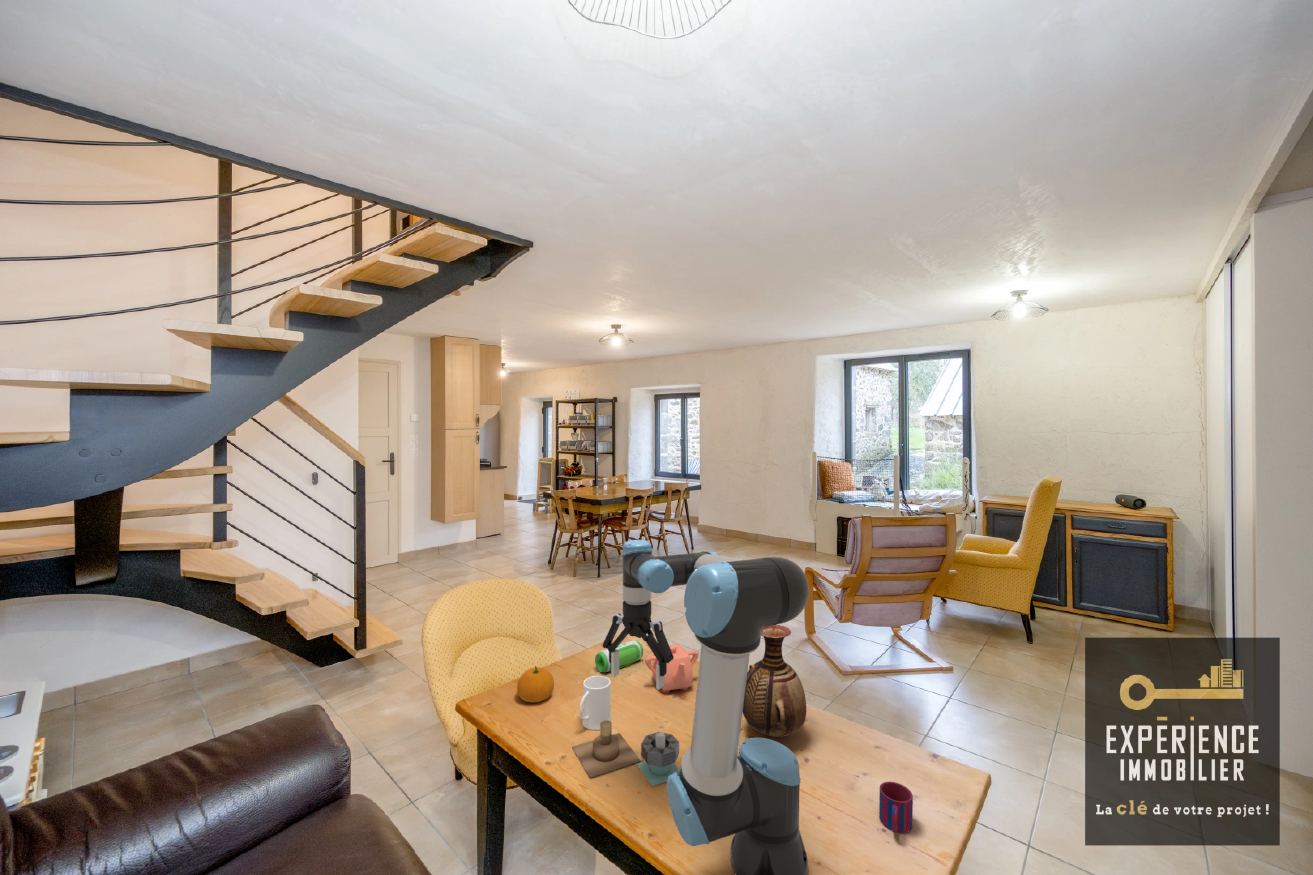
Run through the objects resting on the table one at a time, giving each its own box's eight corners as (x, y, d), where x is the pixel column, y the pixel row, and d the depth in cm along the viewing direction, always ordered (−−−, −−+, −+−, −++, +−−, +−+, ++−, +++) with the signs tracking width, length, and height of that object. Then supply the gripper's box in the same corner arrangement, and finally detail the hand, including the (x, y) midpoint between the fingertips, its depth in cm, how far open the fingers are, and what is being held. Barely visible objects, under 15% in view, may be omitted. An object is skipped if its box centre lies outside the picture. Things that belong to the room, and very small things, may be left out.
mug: (588, 739, 145) (588, 696, 145) (568, 728, 150) (568, 687, 150) (617, 720, 154) (617, 680, 154) (597, 710, 160) (597, 672, 159)
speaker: (632, 655, 198) (632, 636, 198) (644, 662, 193) (644, 642, 193) (593, 669, 187) (593, 649, 187) (605, 677, 181) (605, 655, 181)
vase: (804, 763, 135) (805, 649, 134) (734, 749, 141) (735, 639, 140) (807, 719, 155) (808, 620, 154) (747, 709, 161) (747, 613, 160)
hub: (641, 762, 135) (641, 730, 135) (590, 778, 129) (590, 745, 128) (619, 733, 147) (619, 704, 147) (572, 747, 141) (572, 717, 141)
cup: (914, 818, 116) (914, 788, 116) (907, 848, 108) (908, 816, 108) (882, 806, 120) (882, 777, 120) (873, 834, 111) (873, 803, 111)
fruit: (510, 696, 168) (510, 665, 168) (542, 684, 176) (542, 655, 176) (528, 711, 159) (528, 678, 159) (561, 697, 167) (561, 667, 167)
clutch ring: (684, 759, 130) (684, 747, 130) (652, 770, 126) (652, 758, 126) (667, 740, 138) (667, 729, 138) (636, 749, 134) (636, 738, 134)
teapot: (660, 670, 186) (661, 634, 186) (702, 679, 180) (702, 642, 179) (639, 692, 171) (639, 652, 171) (684, 702, 164) (684, 661, 164)
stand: (684, 775, 130) (684, 739, 130) (652, 786, 126) (652, 749, 126) (667, 755, 138) (667, 721, 138) (636, 765, 134) (636, 730, 134)
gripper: (686, 603, 133) (686, 686, 133) (605, 589, 145) (605, 665, 145) (673, 612, 126) (673, 699, 126) (589, 597, 138) (589, 676, 138)
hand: (637, 681), depth 136 cm, fingers open, 13 cm apart
